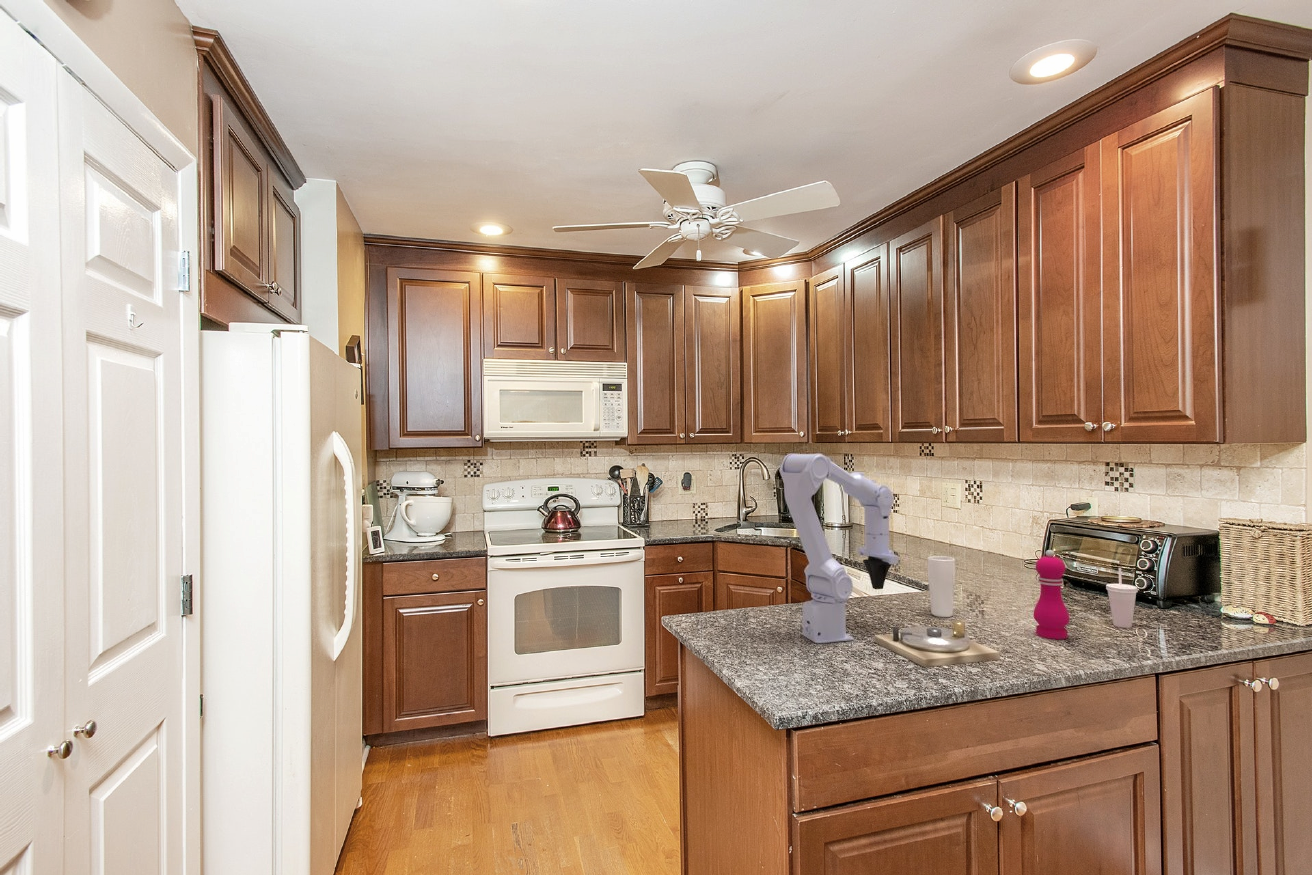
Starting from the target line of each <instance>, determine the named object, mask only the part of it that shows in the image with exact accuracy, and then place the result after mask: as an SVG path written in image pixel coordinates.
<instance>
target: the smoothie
mask: <svg viewBox="0 0 1312 875" xmlns="http://www.w3.org/2000/svg"><path fill="white" fill-rule="evenodd" d="M1122 579H1123V578H1122V568H1121V567H1118V583H1107V584H1106V585H1105V587H1106V588H1105V589H1106V590H1107V594H1108V599H1109V606H1110V612H1111V618H1112V623H1113V624H1112V625H1113V626H1115V627H1117V628H1124V629H1125V628H1126V629H1130V628H1132V627H1133V622H1134V621H1133V620H1134V612H1135V605H1136V597H1137V596H1136V595H1137V593H1138V592H1139V591H1138V587H1137V586H1135V585H1132V584H1126V583H1125V584H1124V583H1123V582H1122V581H1123V580H1122Z"/></svg>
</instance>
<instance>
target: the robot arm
mask: <svg viewBox="0 0 1312 875" xmlns="http://www.w3.org/2000/svg"><path fill="white" fill-rule="evenodd" d="M779 473H780V476H781V478H782V481H783V487H784V488H783V489H784V491H783V492H784V500H785V504H787V507H788V508H787V509H788V510H789V513H790V516H791V519H792V521H793V524H794V526H795V529H796V532H797V535H798V538H799V540H800V542H801V545H802V548H803V550H804V553H805V556H806V558H807V560H808V564H807V565H806V567H805V568H804V570H803V572H804V574H805V584H806V585H805V586H806V589H807V591H808V592H809V593H810V595H811V598H812V599H811V600H807V601H805V602H804V603H803V605H802V609H801V610H802V617H801V618H802V631H801V633H800V635H802V636H804V637H805V638H807V639H809V640H810V641H811V642H813V643H815V644H826V643H838V642H847V641H853V640H854V637H853V636H850V635H848V634H847V630H846V627H847V625H846V624H847V623H846V621H847V620H846V602H847V601H848V600H849V598H850V597H851V595H852V593H853V588H854V583H853V580H852V578H851V576H850V575H849V574H848V573H847V572H846V570H845V567H844V566H843V564H841V563H840V562H839V561H837V560H836V559H834V557H833V555H832V552H831V549H830V547H829V543H828V541H827V537H826V536H825V533H824V530H823V528H822V525H821V522H820V519H819V517H818V514H817V512H816V509H815V506H814V505H815V504H814V503H813V500H812V497H813V495H816V493H817V492H818V490H819V489H820V487H821V486H822V485H823V483H824V481H825V480H826V479H827V480H829V481H831V482H833V483H834V484H837V485H840V486H842V490H843V492H844V493H845V495H846V494H847V495H848V496H849V497H851V498H854V499H855V500H857V501H858V502H859V504H860V506H861V507H863V509H864V546H861V547H858V548H857V552H858V553H857V555H858V556H865V557H867V559H863V560H862V563H863V565H864V566H865V569H866V570H867V573H868V575H869V579H870V583H871V586H872V587H871V588H873V589H874V590H883V589H884V585H885V581H886V578H887V574H888V572H889V570H890V568H891V567H892V565H897V564H899V555H896V554H894V551H893V550H891V549H890V520H889V519H890V516H891V513H892V506H893V504H894V501H895V496H894V494H893V492H892V489H890V488H889V486H886V485H879V484H878V483H877V481H876V480H874V479H869V478H867V477H866V476H865V473H864V472H861V471H855V472H854V471H853V472H851V473H850V472H848V471H846V470H845V469H843V468H842V467H840V466H839V465H838V464H836V463H835V462H833V461H831V458H830V457H829V456H825V455H824V454H823V453H792V452H791V453H788V454H787V455H785V457H784V458H783V460H782V463H781V465H780V468H779Z"/></svg>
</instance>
